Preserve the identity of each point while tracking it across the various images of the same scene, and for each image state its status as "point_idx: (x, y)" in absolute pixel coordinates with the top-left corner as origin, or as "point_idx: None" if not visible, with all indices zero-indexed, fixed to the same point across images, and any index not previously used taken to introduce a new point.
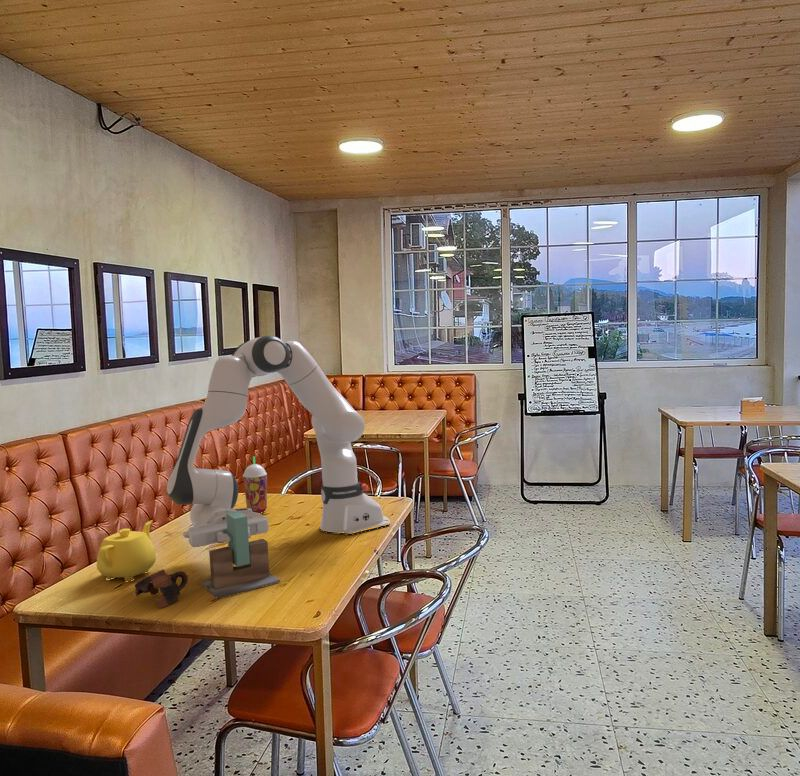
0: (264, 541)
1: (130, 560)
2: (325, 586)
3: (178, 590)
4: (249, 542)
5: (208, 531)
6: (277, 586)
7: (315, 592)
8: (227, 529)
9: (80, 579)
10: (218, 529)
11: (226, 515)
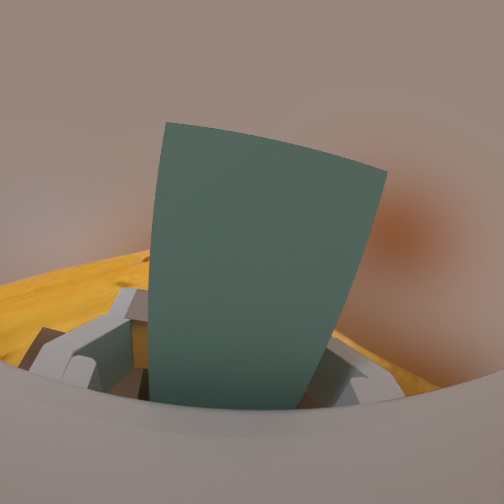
0: (49, 337)
1: None
2: (51, 300)
3: None
4: (113, 391)
5: (471, 381)
6: None
7: (86, 297)
8: (310, 364)
9: None
10: (407, 397)
11: (375, 196)
